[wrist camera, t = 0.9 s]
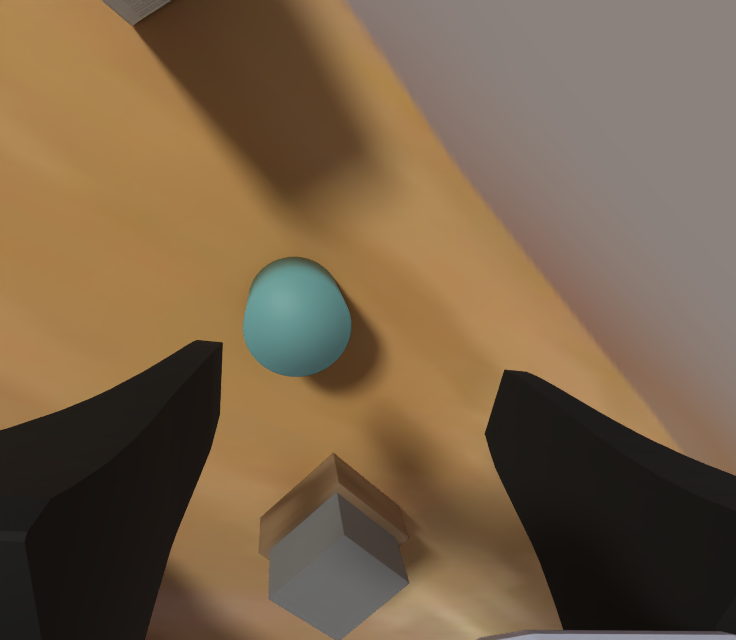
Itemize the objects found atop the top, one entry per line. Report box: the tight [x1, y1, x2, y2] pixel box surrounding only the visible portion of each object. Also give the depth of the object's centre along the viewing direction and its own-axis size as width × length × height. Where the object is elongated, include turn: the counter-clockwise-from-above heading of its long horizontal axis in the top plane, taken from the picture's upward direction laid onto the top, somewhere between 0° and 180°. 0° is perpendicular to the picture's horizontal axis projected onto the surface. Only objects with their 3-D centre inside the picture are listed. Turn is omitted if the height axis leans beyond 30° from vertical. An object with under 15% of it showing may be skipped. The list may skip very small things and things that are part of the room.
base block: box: [259, 453, 409, 560], centre depth 27 cm, size 6×6×3 cm
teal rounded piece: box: [243, 257, 351, 377], centre depth 22 cm, size 5×5×4 cm
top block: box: [269, 492, 409, 640], centre depth 24 cm, size 5×5×3 cm
